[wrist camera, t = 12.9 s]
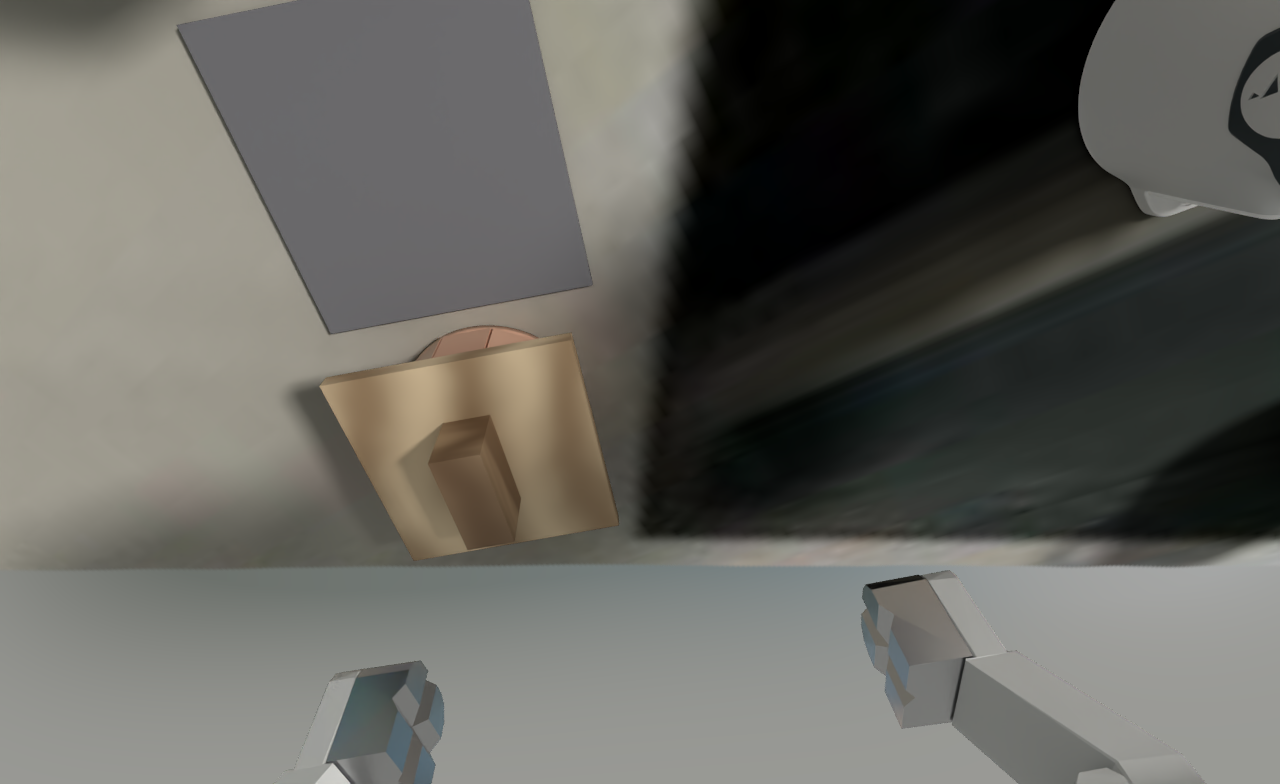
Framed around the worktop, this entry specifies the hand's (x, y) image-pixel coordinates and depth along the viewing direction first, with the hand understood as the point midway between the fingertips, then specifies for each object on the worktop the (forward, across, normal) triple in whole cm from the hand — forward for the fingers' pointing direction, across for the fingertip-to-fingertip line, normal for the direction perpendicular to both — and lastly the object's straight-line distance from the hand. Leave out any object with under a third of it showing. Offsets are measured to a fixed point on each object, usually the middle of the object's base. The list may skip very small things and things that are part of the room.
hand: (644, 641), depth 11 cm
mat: (+31, +11, -4) cm, 33 cm away
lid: (+25, +11, +13) cm, 30 cm away
